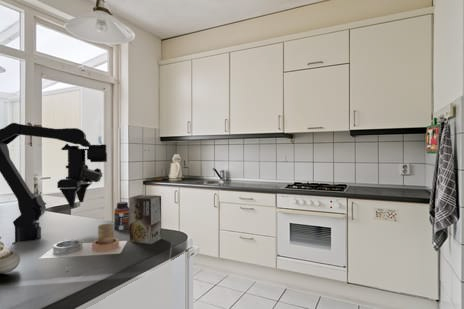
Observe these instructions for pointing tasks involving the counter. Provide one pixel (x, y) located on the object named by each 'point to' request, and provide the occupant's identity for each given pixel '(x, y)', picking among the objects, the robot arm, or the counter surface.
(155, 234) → the coffee box
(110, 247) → the terracotta socket
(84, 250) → the socket board
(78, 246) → the grey ring
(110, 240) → the banded peg
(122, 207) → the supplement bottle
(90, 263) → the counter surface
